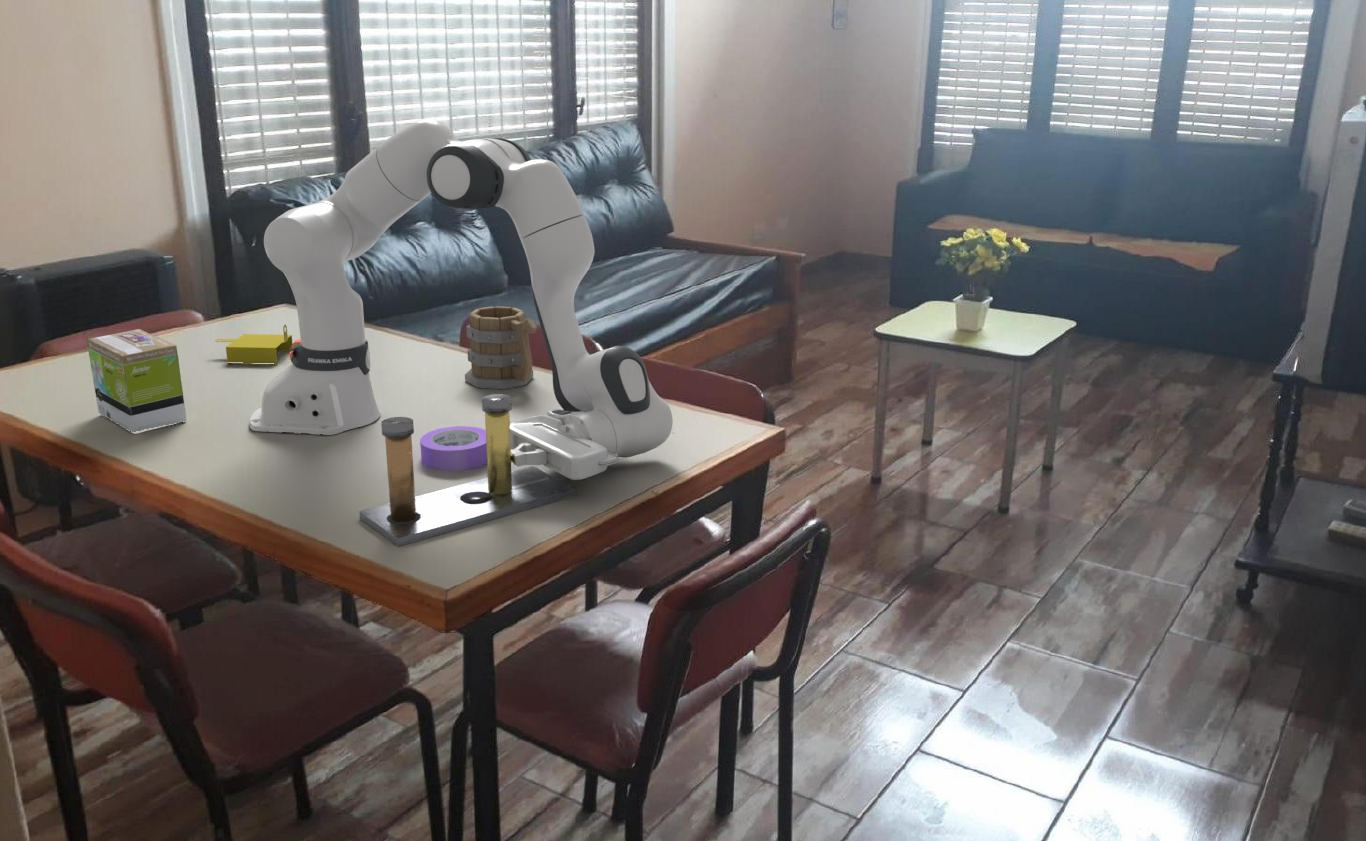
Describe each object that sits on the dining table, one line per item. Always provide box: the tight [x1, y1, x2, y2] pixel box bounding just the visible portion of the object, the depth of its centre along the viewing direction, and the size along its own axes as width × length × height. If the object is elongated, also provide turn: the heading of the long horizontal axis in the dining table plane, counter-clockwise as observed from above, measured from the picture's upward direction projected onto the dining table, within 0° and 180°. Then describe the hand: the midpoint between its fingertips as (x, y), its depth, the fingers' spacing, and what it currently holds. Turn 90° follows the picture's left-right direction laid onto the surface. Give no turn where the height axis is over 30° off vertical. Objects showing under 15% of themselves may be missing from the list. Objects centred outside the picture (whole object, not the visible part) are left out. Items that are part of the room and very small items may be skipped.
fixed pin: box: [380, 416, 416, 522], centre depth 171 cm, size 4×4×15 cm
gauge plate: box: [358, 465, 577, 547], centre depth 180 cm, size 30×12×1 cm, turn 130°
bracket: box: [214, 324, 294, 364], centre depth 253 cm, size 16×8×15 cm
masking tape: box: [419, 425, 487, 472], centre depth 199 cm, size 12×12×4 cm
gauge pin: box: [481, 393, 513, 494], centre depth 181 cm, size 4×4×15 cm
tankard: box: [464, 305, 538, 390], centre depth 236 cm, size 20×13×15 cm, turn 37°
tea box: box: [86, 328, 187, 432], centre depth 213 cm, size 15×10×15 cm, turn 47°
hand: (511, 459), depth 182 cm, fingers closed
